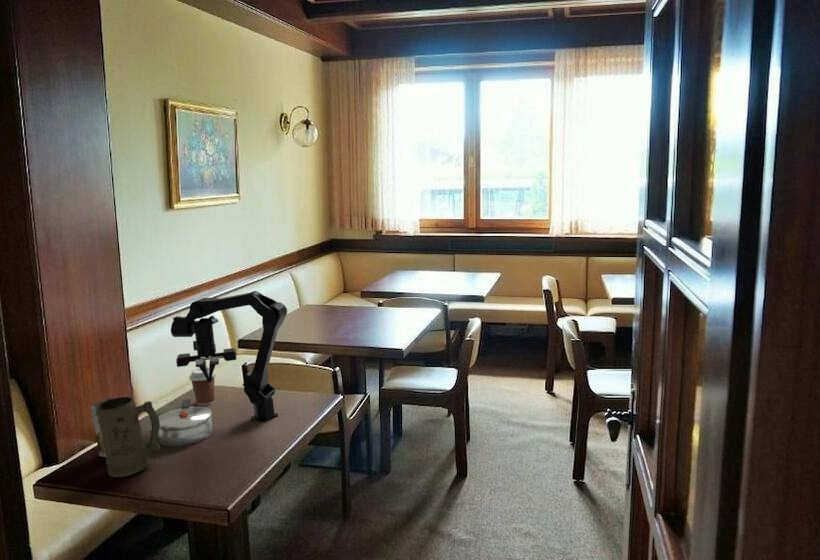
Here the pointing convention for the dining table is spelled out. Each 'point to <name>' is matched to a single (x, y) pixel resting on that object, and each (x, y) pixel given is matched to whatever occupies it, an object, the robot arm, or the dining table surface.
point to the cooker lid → (184, 417)
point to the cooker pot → (185, 434)
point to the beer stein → (126, 435)
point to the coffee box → (98, 428)
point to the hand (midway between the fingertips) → (209, 382)
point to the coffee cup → (203, 387)
